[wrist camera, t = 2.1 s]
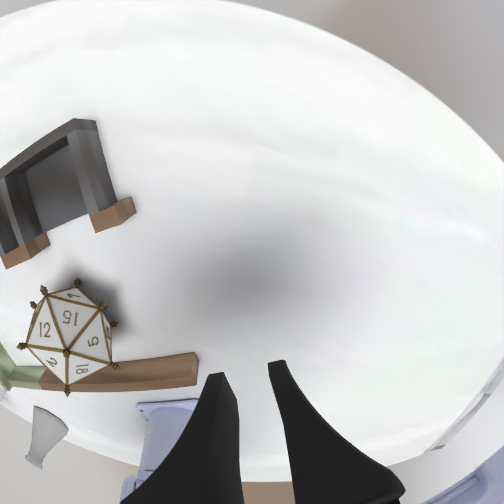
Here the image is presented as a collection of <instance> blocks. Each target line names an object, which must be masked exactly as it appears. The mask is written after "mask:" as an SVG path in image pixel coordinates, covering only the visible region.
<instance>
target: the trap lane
mask: <svg viewBox="0 0 504 504" xmlns="http://www.w3.org/2000/svg"><path fill="white" fill-rule="evenodd" d="M87 213H89V216H90V219H91V222H92V225H93V227H94V230H95V233H97V232H100V231H103V230H106V229H109V228H112V227H114V226H117V225H120V224H122V223H123V222H124V221H126V220H127V219H128V218H130V217H131V216H132V215H134V214H135V213H136V210H135V207H134V204H133V201H132V197H128V198H126V199H123V200H120V201H117V200H116V197H115V194H114V190H113V187H112V184H111V180H110V177H109V174H108V170H107V167H106V163H105V159H104V155H103V152H102V148H101V144H100V140H99V135H98V131H97V127H96V122H95V121H94V120H85V119H76V118H74V119H72V120H70V121H68V122H67V123H65V124H63V125H62V126H60V127H58V128H57V129H55V130H53V131H52V132H50V133H49V134H47V135H46V136H44V137H43V138H41V139H40V140H38V141H37V142H35V143H34V144H32V145H31V146H29V147H28V148H27V149H25V150H24V151H22V152H21V153H20V154H18V155H17V156H16V157H15V158H13V159H12V160H11V161H9V162H8V163H7V164H6V165H4V166H3V167H2V168H1V169H0V256H1V259H2V261H3V263H4V266H5V268H6V269H9V268H11V267H13V266H15V265H17V264H20V263H22V262H24V261H26V260H29V259H31V258H32V257H34V256H35V255H36V254H38V253H39V252H41V251H42V250H43V249H45V248H46V247H48V246H49V245H50V243H49V240H48V238H47V235H46V231H48V230H51V229H53V228H55V227H57V226H59V225H62V224H64V223H66V222H68V221H71V220H73V219H75V218H78V217H80V216H83V215H85V214H87ZM116 364H119V367H120V369H121V370H115V369H113V368H112V366H108V367H107V368H105V369H103V370H101V371H99V372H97V373H95V374H93V375H91V376H89V377H87V378H85V379H83V380H81V381H79V382H77V383H75V384H72V385H70V386H69V388H70V392H126V391H145V390H158V389H169V388H178V387H187V386H195V385H197V375H198V365H199V360H198V358H197V356H196V355H195V353H194V352H193V353H187V354H180V355H174V356H167V357H160V358H153V359H145V360H136V361H127V362H117V363H116ZM0 384H1V385H2V386H3V387H4V389H5V390H6V391H10V389H11V388H12V386H13V387H20V388H29V389H39V390H51V391H64V390H65V389H64V388H65V385H64V384H63V383H62V382H61V381H60V380H59V379H58V378H57V377H56V376H55V375H54V374H52V373H51V372H50V371H49V370H48V369H47V368H46V367H45V366H16V365H15V364H14V362H13V361H12V360H11V358H10V357H9V355H8V354H7V352H6V351H5V349H4V348H3V346H2V345H1V343H0Z"/></svg>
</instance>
